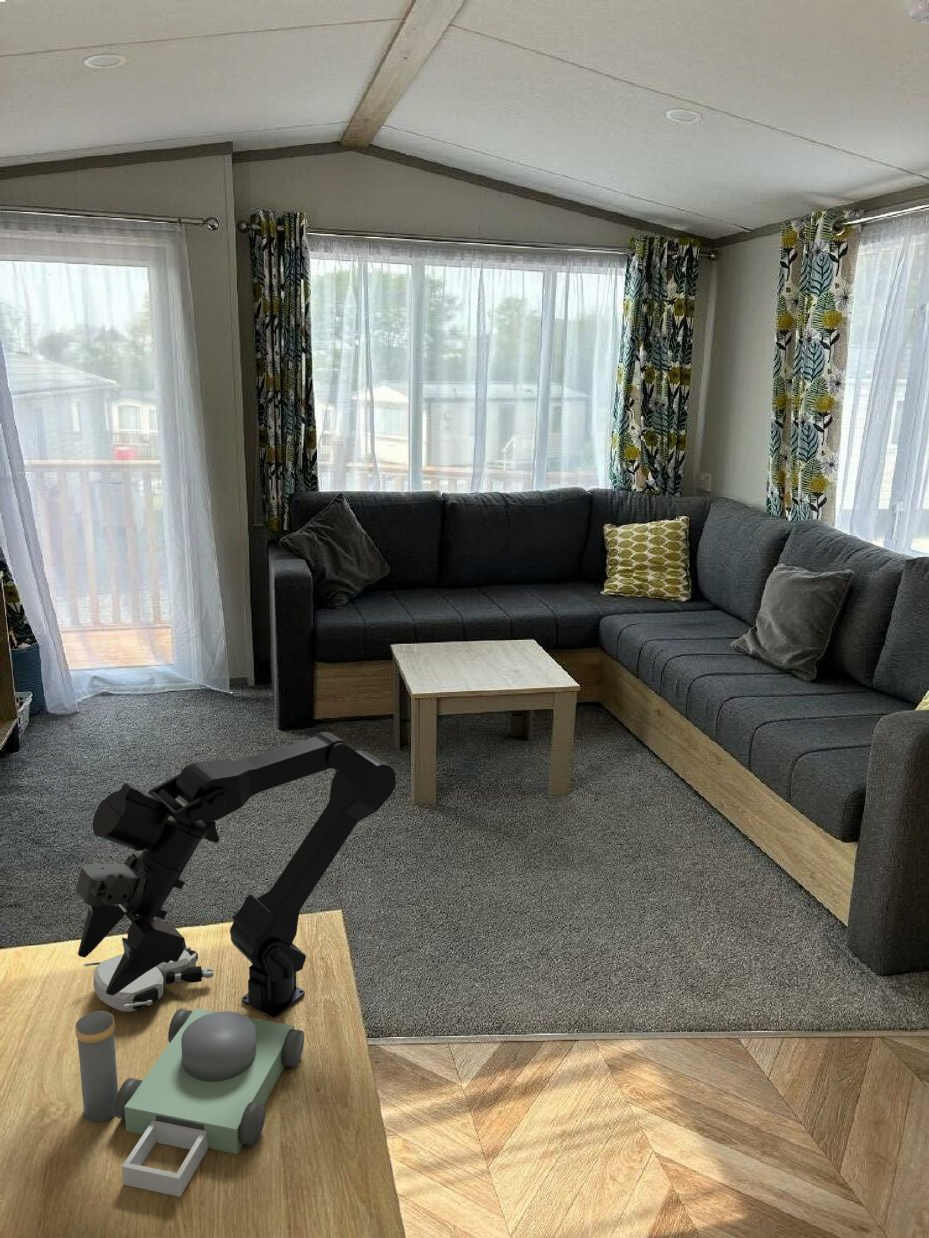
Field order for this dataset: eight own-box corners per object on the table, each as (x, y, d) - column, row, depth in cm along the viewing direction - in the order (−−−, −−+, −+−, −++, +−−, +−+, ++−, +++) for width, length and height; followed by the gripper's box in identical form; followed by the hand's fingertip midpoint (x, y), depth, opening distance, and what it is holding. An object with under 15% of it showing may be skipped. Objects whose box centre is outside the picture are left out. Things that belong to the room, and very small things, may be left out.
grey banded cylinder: (104, 1091, 122) (97, 1005, 119) (128, 1105, 120) (122, 1019, 117) (75, 1113, 119) (67, 1025, 115) (98, 1128, 117) (91, 1040, 113)
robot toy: (175, 953, 151) (79, 989, 140) (176, 926, 150) (79, 960, 139) (219, 991, 143) (120, 1033, 132) (220, 964, 142) (120, 1003, 131)
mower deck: (185, 1027, 134) (183, 986, 132) (305, 1049, 131) (304, 1008, 129) (81, 1175, 110) (77, 1127, 108) (223, 1206, 107) (221, 1158, 105)
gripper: (81, 810, 124) (12, 922, 122) (141, 874, 111) (65, 1001, 109) (152, 837, 132) (88, 943, 130) (216, 900, 118) (146, 1020, 116)
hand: (94, 974), depth 121 cm, fingers open, 9 cm apart
